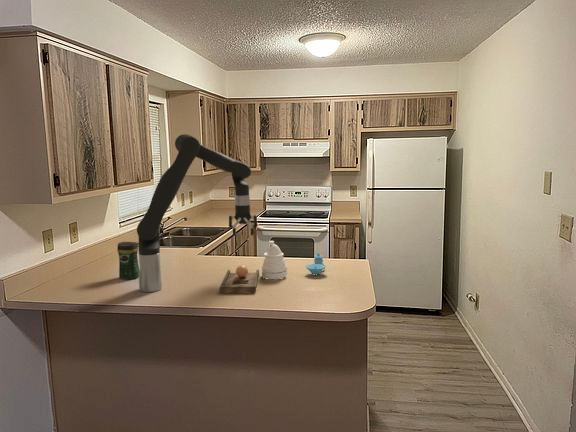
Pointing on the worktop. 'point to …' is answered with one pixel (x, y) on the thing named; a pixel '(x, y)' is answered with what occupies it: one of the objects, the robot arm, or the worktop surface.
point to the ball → (241, 271)
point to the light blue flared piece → (316, 265)
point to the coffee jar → (128, 260)
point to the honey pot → (274, 263)
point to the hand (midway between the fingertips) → (243, 235)
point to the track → (233, 278)
